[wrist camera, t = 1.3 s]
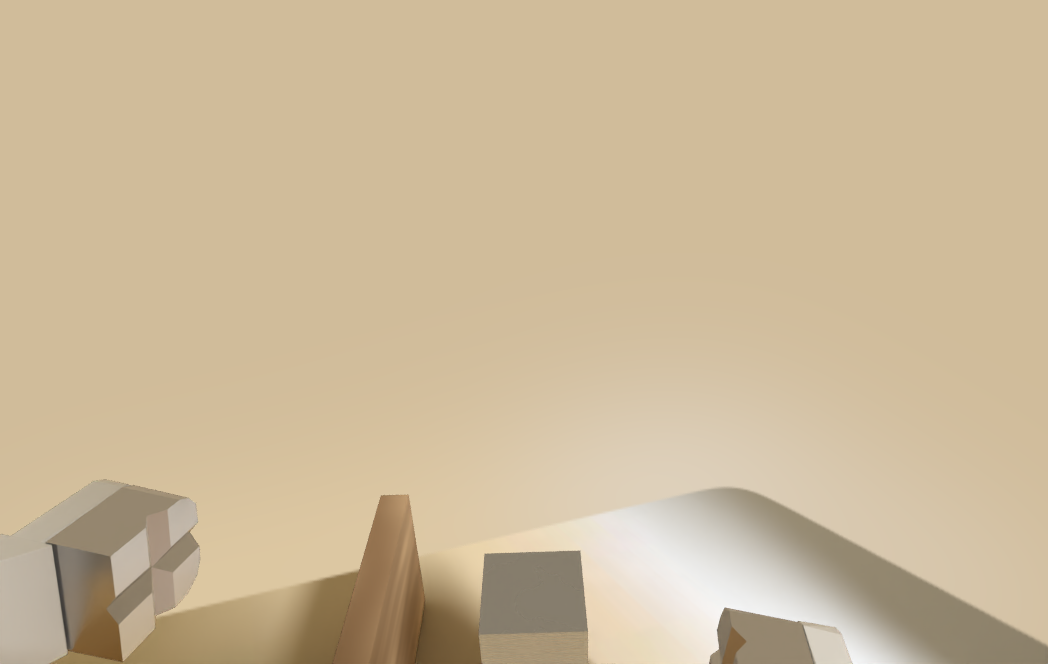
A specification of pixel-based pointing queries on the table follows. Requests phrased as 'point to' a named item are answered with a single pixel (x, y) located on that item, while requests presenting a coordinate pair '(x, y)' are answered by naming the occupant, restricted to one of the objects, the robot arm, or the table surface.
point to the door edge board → (385, 592)
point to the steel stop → (533, 609)
